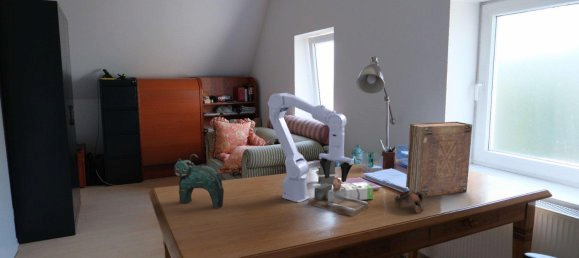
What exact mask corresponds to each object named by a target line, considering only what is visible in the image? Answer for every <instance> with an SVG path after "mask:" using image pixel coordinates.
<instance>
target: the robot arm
mask: <svg viewBox="0 0 579 258" xmlns="http://www.w3.org/2000/svg"><path fill="white" fill-rule="evenodd" d="M267 105H268V107H269V108H268V110H269V111H268V115H269V116H268V118H269V121H270V124H272V125H271V126H272V128H273V130H274V132H275V135H276V137H277V140H278V142H279V144H280V147H281V149H282V152H283V153H284V156H285V161H284V165H285V170H286V176H285V177H284V178H283V181H282V196H281V198H282V199H285V200H288V201H292V202H295V203H302V202H304V201H306V200H307V201H308V200H309V199H312V197H311V196H310V195H307V176H308V175H307V174H308V172H309V170H310V165H309V163H308V161H307V160H306V159H305V157H304V155H302V154H301V153H300V152H299V150H298V148H297V146H296V144H295V141H294V140H293V136H292V134H291V132H290V129H289V127H288V125H287V122H286V121H285V115H286V113H287V111H288V110H289V109H290V108H292V107H294V108H297V109H298V110H300V111H304V112H306V113H308V114H311V117H312V119H313V120H316V121H318V122H320V123H322V124H324V125H326V126H327V127H328V129H329V132H328V134H329V135H328V139H329V140H328V153H319V155H318V157H319V158H318V159H319V165H320V164H321V166H322V168H323V171H324V175H325V178H329V176H330V166H331V162H332V161H333V162H335V163H336V162H337V163H340V164H339V166H340V170H341V176H340V177H341V183H345V182H347V177H348V175H349V172H350V171H351V168H352V167H353V165H354V163H355V162H354V161H355V159H354V158H351V157H348V156H345V126H346V125H347V123H348V121H347V120H348V119H347V117H346V115H345V114H343V113H341V112H337V113H336V110H331V109H330V108H326V105H324V104H318V105H316V106H315V105H313V104H311V103H309V102H308V101H305V100H304V99H302V98H300V97H299V96H296V95H294V94H291V93H289V92H283V93H281V92H279V93H272V94H271V95H270V97H269V99H268V101H267Z"/></svg>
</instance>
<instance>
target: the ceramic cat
mask: <svg viewBox="0 0 579 258" xmlns="http://www.w3.org/2000/svg"><path fill="white" fill-rule="evenodd" d="M192 156H195V157H196V158H197V159H199V157H198V155H197V154H195V153H193V154H190V158H189V159H183V160H182V159H181V158H177V161H176V163H175V164H174V167H173V169H174V175H176V177H178V178H180V179H179V181H178V184H179V185H178V186H179V187H178V188H179V189H178V196H179V204H183V203H184V205H186V203H187V204H190V201H191V202H192V195H193V191H194V189H203V190H206V191H207V192H208V194H209V196H210V200H211V203H212V208H214V209H220V208H221V207H223V206H224V205H223V204H224V194H225V192H224V191H225V190H224V186H223V180H222V177H221V175H220V174H219V171H218V170H217V168H216V167H215V166H214V165H211V164H207V163H202V164H198V165H195V164H194V163H193V162H192Z"/></svg>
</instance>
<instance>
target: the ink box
mask: <svg viewBox="0 0 579 258" xmlns="http://www.w3.org/2000/svg"><path fill="white" fill-rule="evenodd" d="M341 187H345V188H346V197H349V198H353V199H357V200H361V201H364V200H373V199H374V187H373V186H371V185H370V184H369V183H366V182H363V181H362V182H351V183H350V182H347V183H341Z"/></svg>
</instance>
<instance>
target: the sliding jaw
mask: <svg viewBox="0 0 579 258" xmlns="http://www.w3.org/2000/svg"><path fill="white" fill-rule="evenodd" d="M341 177H342V176H335V177H334V181H333V185H332V189H331V190H329V191H328V203H329V202H331V203H334V204H337V203H339V202H341V201H343V200H345V199H346V188H345V187H341V184H342V180H341Z"/></svg>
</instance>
